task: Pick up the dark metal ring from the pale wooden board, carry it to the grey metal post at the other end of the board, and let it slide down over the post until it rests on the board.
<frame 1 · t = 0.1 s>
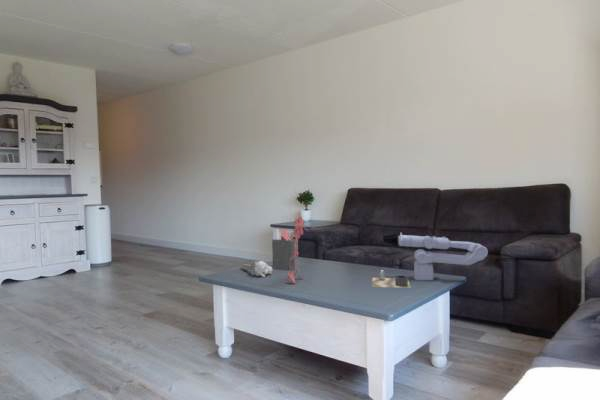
hand: (383, 238, 222), 22 cm above the table, tool horizontal, fingers open, 7 cm apart
white lumpy shape: (264, 275, 239), on the table, touching wrench
board: (390, 284, 212), on the table
figurine: (300, 282, 222), on the table
wrench: (249, 273, 248), on the table, touching white lumpy shape
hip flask: (284, 269, 258), on the table
ring: (401, 285, 207), point 1 cm above the table, touching board
post: (382, 281, 218), resting on board
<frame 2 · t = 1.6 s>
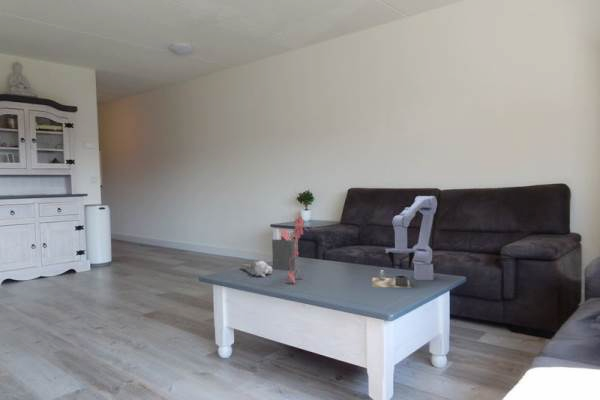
hand: (401, 267, 206), 9 cm above the table, tool pointing down, fingers open, 7 cm apart
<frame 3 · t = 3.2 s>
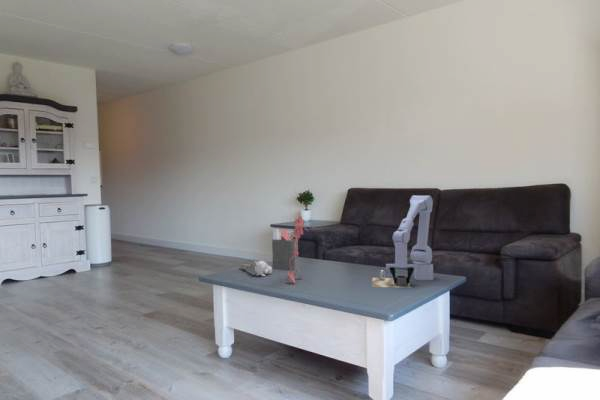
hand: (401, 283, 207), 2 cm above the table, tool pointing down, fingers closed on ring, 6 cm apart
ring: (401, 285, 207), point 1 cm above the table, touching board, gripper
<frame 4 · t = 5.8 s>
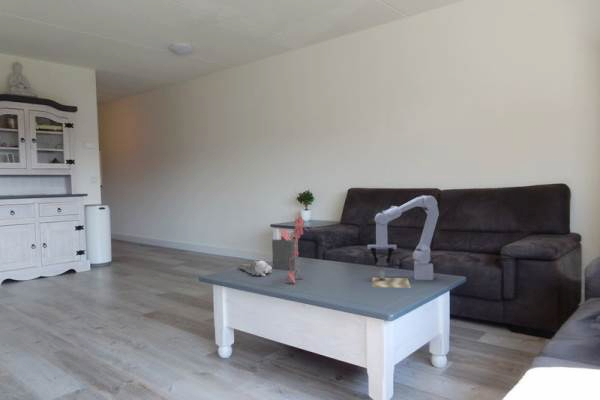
hand: (382, 262, 218), 10 cm above the table, tool pointing down, fingers closed on ring, 6 cm apart
ring: (382, 264, 218), point 9 cm above the table, touching gripper
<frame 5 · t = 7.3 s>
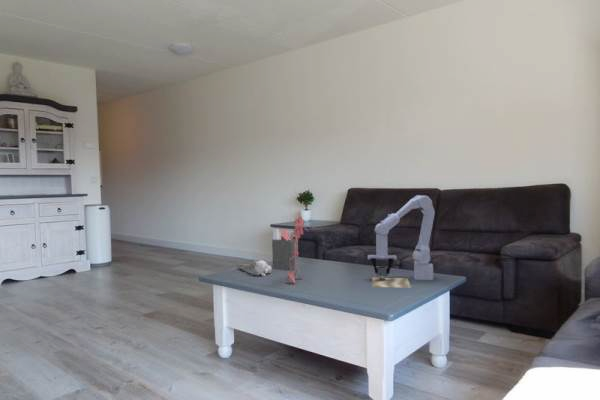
hand: (382, 273, 218), 5 cm above the table, tool pointing down, fingers closed on ring, 6 cm apart
wrench: (247, 272, 249), on the table, touching white lumpy shape
ring: (382, 275, 218), point 4 cm above the table, touching gripper
when the fingers open (4 cm above the table, at t = 8.3 s): ring drops 2 cm, resting on board.
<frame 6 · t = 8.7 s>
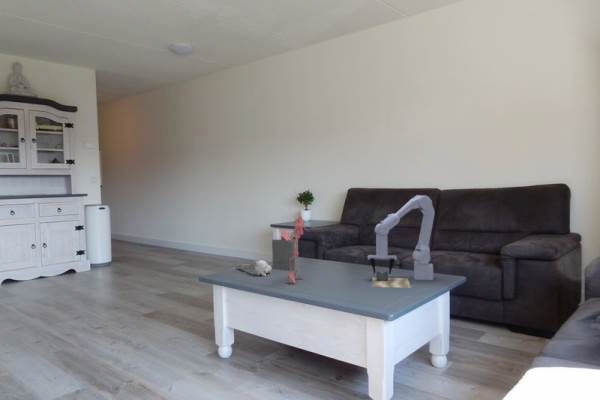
hand: (382, 273, 218), 4 cm above the table, tool pointing down, fingers open, 7 cm apart
ring: (382, 280, 218), point 1 cm above the table, touching board
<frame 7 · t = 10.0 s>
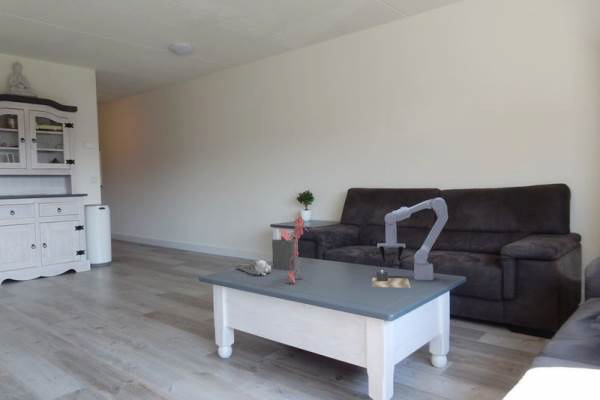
hand: (391, 261, 225), 9 cm above the table, tool pointing down, fingers open, 7 cm apart
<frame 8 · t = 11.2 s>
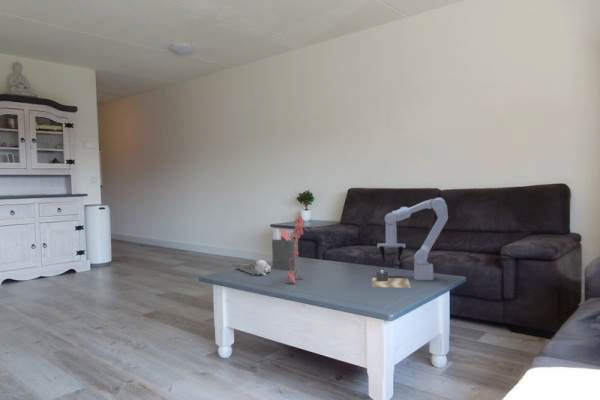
hand: (391, 261, 225), 9 cm above the table, tool pointing down, fingers open, 7 cm apart
at the end: ring 0.1 cm from the post (horizontally); ring point 1.0 cm above the table; the gripper is holding nothing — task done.
